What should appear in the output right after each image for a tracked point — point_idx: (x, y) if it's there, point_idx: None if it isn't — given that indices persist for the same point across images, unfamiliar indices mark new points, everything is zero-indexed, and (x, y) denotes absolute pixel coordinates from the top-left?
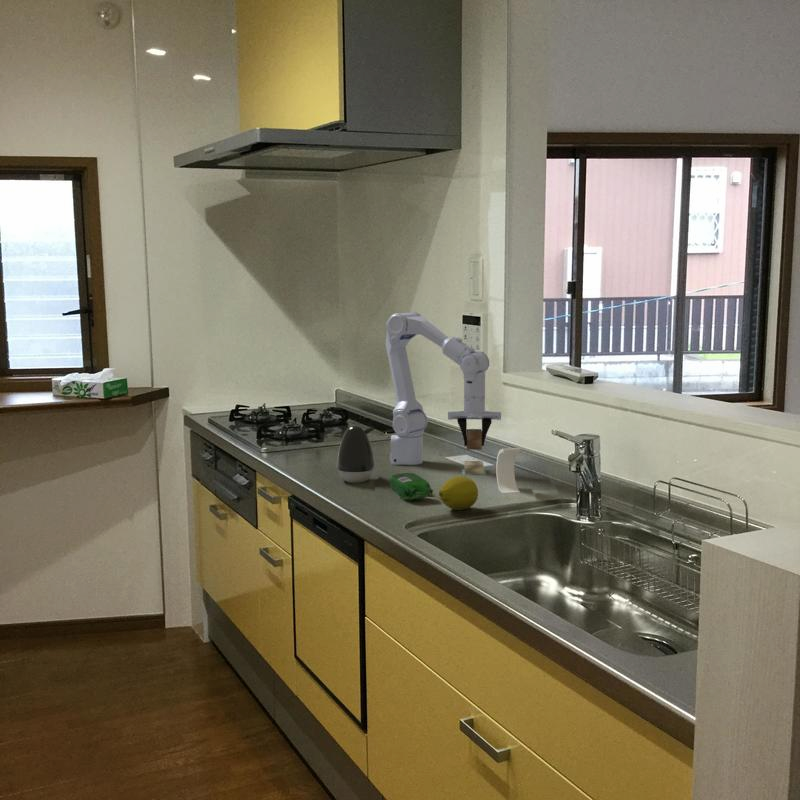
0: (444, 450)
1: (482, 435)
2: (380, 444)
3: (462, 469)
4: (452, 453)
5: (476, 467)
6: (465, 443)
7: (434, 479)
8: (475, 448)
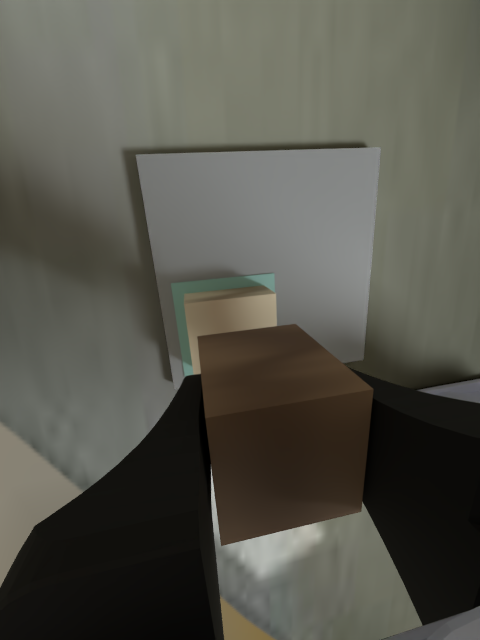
0: (322, 599)
1: (196, 410)
2: None
3: None
4: (302, 578)
5: (218, 296)
6: None
7: (378, 222)
8: (241, 332)
